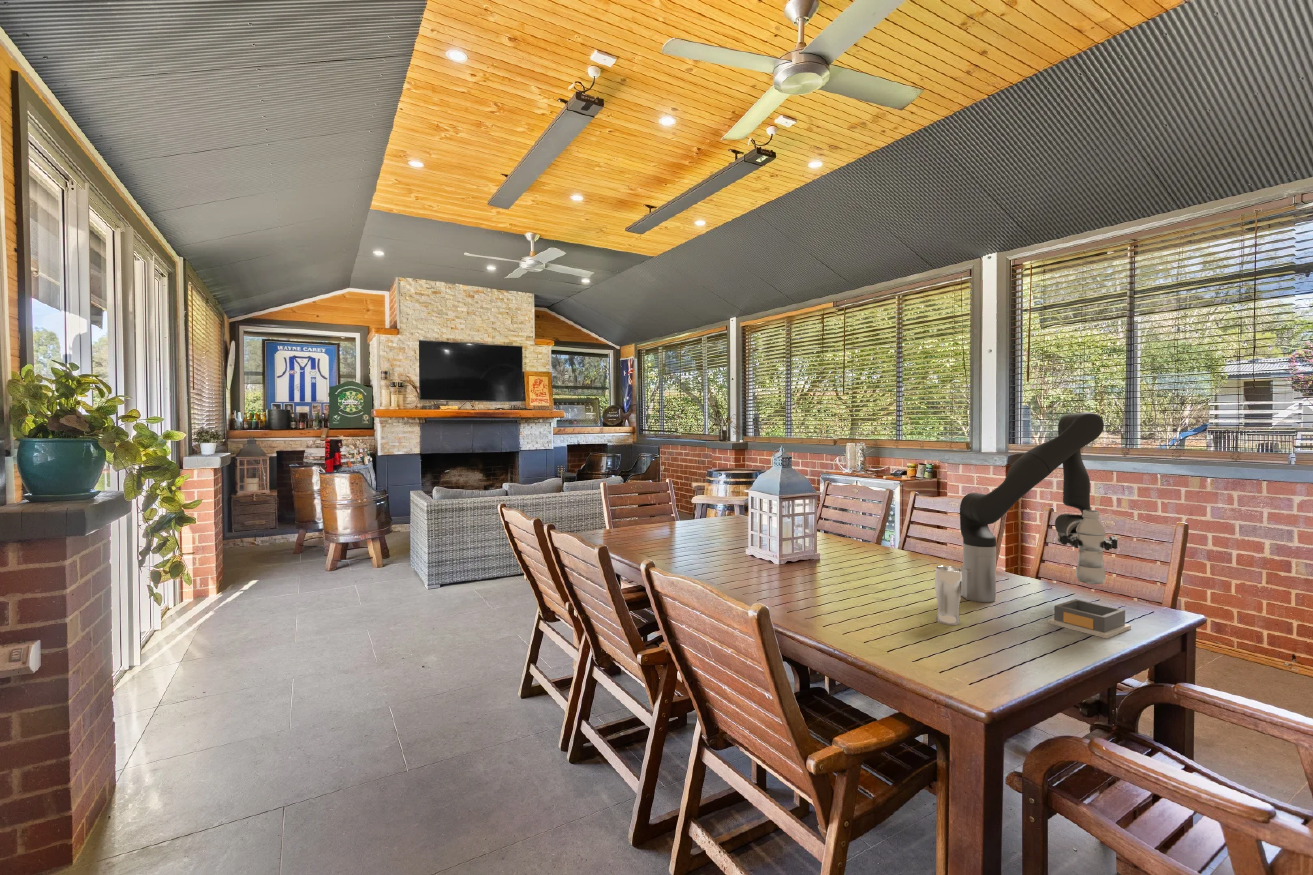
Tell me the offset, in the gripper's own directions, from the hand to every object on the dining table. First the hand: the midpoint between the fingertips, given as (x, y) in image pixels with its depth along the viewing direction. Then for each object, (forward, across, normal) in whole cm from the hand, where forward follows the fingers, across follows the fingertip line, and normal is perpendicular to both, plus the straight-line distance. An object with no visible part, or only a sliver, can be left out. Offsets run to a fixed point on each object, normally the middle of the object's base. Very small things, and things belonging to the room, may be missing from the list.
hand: (1092, 545), depth 161 cm
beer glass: (+12, -34, +23) cm, 43 cm away
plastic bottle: (-2, 0, +11) cm, 11 cm away
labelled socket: (-2, 0, +23) cm, 23 cm away
